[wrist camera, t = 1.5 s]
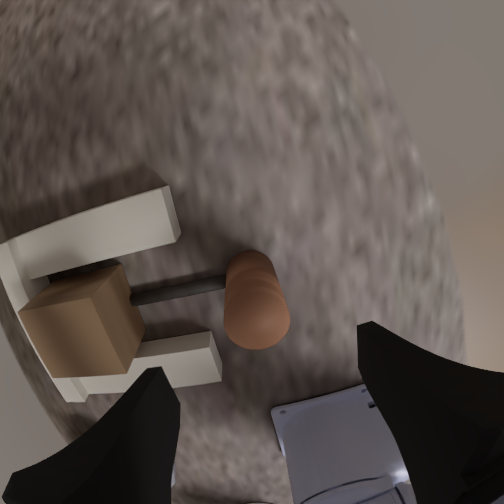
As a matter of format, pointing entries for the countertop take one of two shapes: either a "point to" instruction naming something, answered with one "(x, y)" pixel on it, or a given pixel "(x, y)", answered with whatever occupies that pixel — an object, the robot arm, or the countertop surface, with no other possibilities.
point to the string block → (130, 321)
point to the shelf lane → (97, 249)
